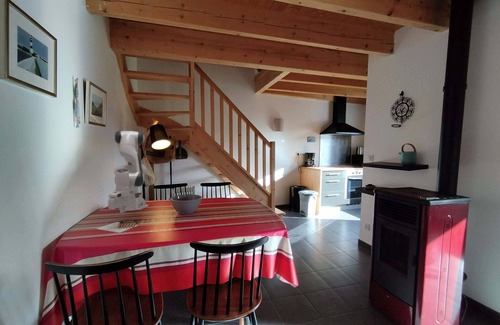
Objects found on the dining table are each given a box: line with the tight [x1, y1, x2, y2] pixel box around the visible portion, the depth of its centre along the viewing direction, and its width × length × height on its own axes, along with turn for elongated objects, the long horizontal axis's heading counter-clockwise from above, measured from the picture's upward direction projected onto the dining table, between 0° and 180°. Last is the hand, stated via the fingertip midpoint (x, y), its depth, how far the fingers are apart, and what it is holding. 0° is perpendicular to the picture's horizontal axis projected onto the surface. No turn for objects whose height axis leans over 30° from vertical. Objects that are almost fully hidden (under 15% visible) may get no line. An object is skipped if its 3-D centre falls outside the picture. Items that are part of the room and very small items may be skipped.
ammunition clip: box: [117, 219, 138, 228], centre depth 165 cm, size 11×2×12 cm
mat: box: [96, 221, 140, 234], centre depth 162 cm, size 16×20×1 cm
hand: (122, 212), depth 165 cm, fingers closed
